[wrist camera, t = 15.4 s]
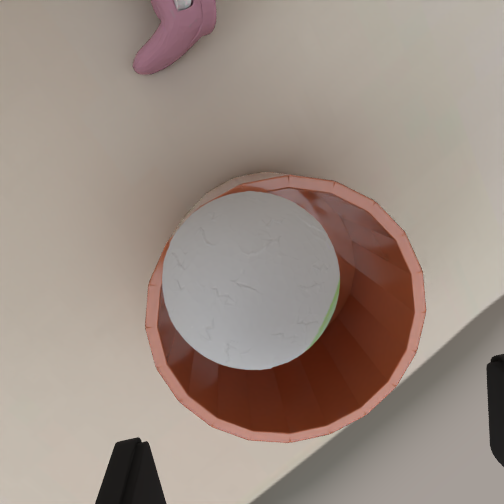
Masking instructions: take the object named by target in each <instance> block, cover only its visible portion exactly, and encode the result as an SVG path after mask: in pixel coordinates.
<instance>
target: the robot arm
mask: <svg viewBox="0 0 504 504" xmlns="http://www.w3.org/2000/svg"><path fill="white" fill-rule="evenodd" d="M487 389H488V411H489V431H490V447H491V450H492V453H493V455H494V456H495V458H496V459H497V460H498V462H499V463H501V464H502V466H503V467H504V354H501V355H496V356H494V357H492V359H491V363H489V364H487ZM95 504H166V501H165V498H164V494H163V491H162V487H161V484H160V480H159V477H158V473H157V470H156V466H155V463H154V459H153V456H152V452H151V449H150V446H149V443H148V442H147V441H146V442H141V439H140V438H138V437H137V438H133V439H128V440H124V441H120V442H117V443H116V444H115V446H114V449H113V452H112V455H111V458H110V461H109V464H108V467H107V470H106V473H105V476H104V479H103V482H102V485H101V488H100V491H99V494H98V497H97V500H96V503H95Z"/></svg>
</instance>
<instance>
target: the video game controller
mask: <svg viewBox="0 0 504 504" xmlns="http://www.w3.org/2000/svg"><path fill="white" fill-rule="evenodd" d="M151 3H152V6H153V9H154V11H155V13H156V15H157V17H158V18H159V19H160V20H161V22H160V24H159V27H158V28H157V30H156V31H155V33H154V34H153V36H152V37H151V38H150V39H149V40H148V41H147V42H146V43H145V45H144V46H143V47H142V48H141V49H140V50H139V51H138V52H137V54H136V56H135V59H134V62H133V68H134V70H135V71H136V72H137V73H138V74H145V75H147V74H153V73H156V72H158V71H160V70H162V69H164V68H166V67H168V66H169V65H171V64H173V63H174V62H175V61H176V60H178V59H179V58H180V57H181V56H183V55H184V54H185V53H186V52H187V51H188V50H189V49H190V48H191V47H192V46H193V45H194V44H195V43H196V42H197V41H198V40H199V39H200V38H201V37H202V36H205V35H208V34H210V33H211V32H212V31H213V29H214V27H215V24H216V4H215V0H151Z"/></svg>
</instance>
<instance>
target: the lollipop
mask: <svg viewBox="0 0 504 504" xmlns="http://www.w3.org/2000/svg"><path fill="white" fill-rule="evenodd" d="M162 288H163V295H164V301H165V305H166V308H167V311H168V313H169V317H170V319H171V322H172V323H173V325H174V326H175V328H176V330H177V331H178V332H179V333H180V335H181V336H182V337H183V338H184V340H185V341H186V342H187V343H188V344H189V345H190V346H191V347H193V348H194V349H195V350H196V351H198V352H199V353H200V354H202V355H203V356H205V357H206V358H208V359H210V360H212V361H214V362H216V363H219V364H221V365H224V366H228V367H231V368H237V369H245V370H263V369H271V368H272V367H275V366H278V365H281V364H284V363H288V362H290V361H291V360H293V359H295V358H297V357H298V356H300V355H301V354H302V353H304V352H305V351H306V350H308V349H309V348H310V347H311V346H312V345H313V344H314V343H315V342H316V341H317V340H318V339H319V337H320V336H321V335H322V333H323V332H324V331H325V329H326V328H327V326H328V324H329V322H330V320H331V318H332V317H333V314H334V311H335V308H336V304H337V301H338V296H339V288H340V271H339V265H338V259H337V256H336V253H335V250H334V247H333V245H332V243H331V241H330V239H329V237H328V234H327V233H326V231H325V230H324V228H323V227H322V225H321V224H320V223H319V222H318V221H317V220H316V219H315V218H314V217H313V216H312V215H311V214H309V213H308V212H307V211H306V210H305V209H303V208H302V207H300V206H298V205H297V204H295V203H294V202H292V201H290V200H287V199H285V198H283V197H280V196H276V195H273V194H269V193H263V192H255V191H246V192H239V193H233V194H229V195H226V196H222V197H220V198H217V199H215V200H213V201H211V202H209V203H207V204H205V205H204V206H202V207H200V208H199V209H198V210H197V211H195V212H194V213H193V214H192V215H191V216H190V217H189V218H188V219H187V220H186V221H185V222H184V223H183V224H182V226H181V227H180V228H179V229H178V230H177V232H176V233H175V234H174V236H173V238H172V240H171V241H170V246H169V248H168V250H167V252H166V256H165V258H164V262H163V274H162Z"/></svg>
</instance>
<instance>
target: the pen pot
mask: <svg viewBox="0 0 504 504" xmlns="http://www.w3.org/2000/svg"><path fill="white" fill-rule="evenodd" d="M246 191H255V192H263V193H269V194H273V195H276V196H280V197H283V198H285V199H287V200H290V201H292V202H294V203H295V204H297V205H298V206H300V207H302V208H303V209H305V210H306V211H307V212H308V213H309V214H311V215H312V216H313V217H314V218H315V219H316V220H317V221H318V222H319V223H320V224H321V225H322V227H323V228H324V230H325V231H326V233H327V234H328V237H329V239H330V241H331V243H332V245H333V247H334V250H335V253H336V256H337V259H338V265H339V271H340V288H339V296H338V301H337V304H336V308H335V311H334V314H333V317H332V318H331V320H330V322H329V324H328V326H327V328H326V329H325V331H324V332H323V333H322V335H321V336H320V337H319V339H318V340H317V341H316V342H315V343H314V344H313V345H312V346H311V347H310V348H309V349H308V350H306V351H305V352H304V353H302V354H301V355H300V356H298V357H297V358H295V359H293V360H291V361H290V362H288V363H284V364H281V365H278V366H275V367H272V368H271V369H263V370H245V369H237V368H231V367H228V366H224V365H221V364H219V363H216V362H214V361H212V360H210V359H208V358H206V357H205V356H203V355H202V354H200V353H199V352H198V351H196V350H195V349H194V348H193V347H191V346H190V345H189V344H188V343H187V342H186V341H185V340H184V338H183V337H182V336H181V335H180V333H179V332H178V331H177V330H176V328H175V326H174V325H173V323H172V322H171V319H170V317H169V313H168V311H167V308H166V305H165V301H164V295H163V288H162V274H163V262H164V258H165V256H166V252H167V250H168V248H169V246H170V241H171V240H172V238H173V236H174V234H175V233H176V232H177V230H178V229H179V228H180V227H181V226H182V224H183V223H184V222H185V221H186V220H187V219H188V218H189V217H190V216H191V215H192V214H193V213H194V212H195V211H197V210H198V209H199V208H200V207H202V206H204V205H205V204H207V203H209V202H211V201H213V200H215V199H217V198H220V197H222V196H226V195H229V194H233V193H239V192H246ZM425 315H426V302H425V291H424V280H423V271H422V268H421V266H420V264H419V262H418V259H417V257H416V255H415V253H414V251H413V248H412V246H411V244H410V242H409V239H408V237H407V235H406V233H405V231H404V230H403V229H402V228H401V227H400V226H399V225H398V224H397V223H396V222H395V221H394V220H393V219H392V218H391V217H390V216H389V215H388V214H387V213H386V212H385V211H384V210H383V208H382V207H381V206H380V205H379V204H378V203H377V202H375V201H374V200H372V199H370V198H368V197H366V196H364V195H362V194H360V193H358V192H356V191H354V190H352V189H350V188H348V187H346V186H344V185H342V184H340V183H338V182H336V181H333V180H326V179H319V178H312V177H304V176H297V175H290V174H282V173H275V172H260V173H255V174H248V175H244V176H239V177H235V178H232V179H230V180H229V181H227V182H225V183H223V184H221V185H219V186H218V187H216V188H214V189H213V190H211V191H209V192H207V193H206V194H205V195H204V196H203V197H202V198H201V199H200V200H199V201H198V202H197V203H196V204H195V205H194V206H193V208H192V209H191V210H190V211H189V212H188V213H187V214H186V215H185V217H184V218H183V219H182V221H181V222H180V224H179V225H178V227H177V228H176V230H175V231H174V233H173V234H172V235H171V237H170V238H169V240H168V241H167V243H166V245H165V247H164V249H163V252H162V254H161V256H160V258H159V261H158V263H157V265H156V268H155V270H154V272H153V274H152V277H151V279H150V281H149V285H148V295H147V308H146V320H145V327H146V328H145V329H146V333H147V337H148V340H149V344H150V348H151V352H152V355H153V359H154V363H155V366H156V368H157V370H158V372H159V373H160V375H161V376H162V378H163V379H164V380H165V382H166V383H167V385H168V386H169V388H170V389H171V391H172V392H173V394H174V395H175V397H176V398H177V400H178V401H179V402H180V403H181V404H182V405H184V406H185V407H186V408H188V409H189V410H190V411H192V412H193V413H194V414H195V415H197V416H198V417H199V418H201V419H202V420H203V421H205V422H206V423H207V424H209V425H210V426H212V427H213V428H216V429H219V430H222V431H224V432H227V433H230V434H233V435H235V436H238V437H241V438H244V439H247V440H251V441H267V442H284V443H290V442H291V443H292V442H296V441H301V440H306V439H310V438H315V437H319V436H324V435H329V434H331V433H333V432H335V431H337V430H339V429H341V428H343V427H345V426H347V425H348V424H350V423H352V422H354V421H356V420H358V419H360V418H362V417H364V416H365V415H366V414H368V413H369V412H370V411H371V410H372V409H373V408H374V407H376V406H377V405H378V404H379V403H380V402H381V401H382V400H383V399H384V398H385V397H386V396H387V395H388V394H389V393H390V392H391V391H392V390H394V389H395V387H396V386H397V385H398V383H399V381H400V380H401V378H402V376H403V374H404V373H405V371H406V369H407V368H408V366H409V364H410V363H411V361H412V359H413V357H414V356H415V354H416V351H417V349H418V345H419V340H420V336H421V332H422V328H423V323H424V319H425Z"/></svg>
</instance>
